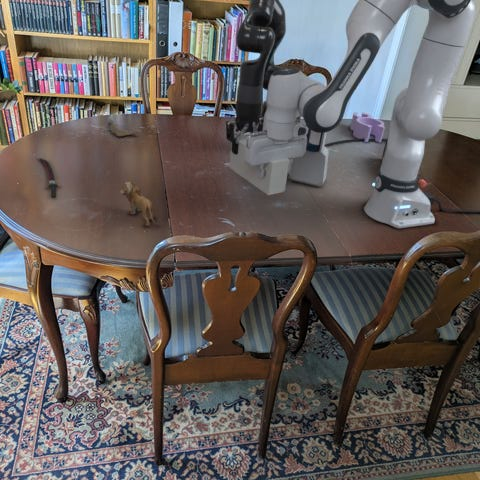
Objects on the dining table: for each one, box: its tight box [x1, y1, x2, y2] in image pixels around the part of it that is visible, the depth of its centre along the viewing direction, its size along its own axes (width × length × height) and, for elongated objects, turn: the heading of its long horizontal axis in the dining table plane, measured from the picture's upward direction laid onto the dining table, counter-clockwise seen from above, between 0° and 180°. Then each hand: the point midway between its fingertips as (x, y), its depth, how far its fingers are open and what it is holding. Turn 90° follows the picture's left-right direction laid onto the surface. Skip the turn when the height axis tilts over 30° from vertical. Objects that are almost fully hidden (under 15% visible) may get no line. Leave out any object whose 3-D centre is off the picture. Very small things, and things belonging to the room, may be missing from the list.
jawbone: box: [108, 119, 142, 137], centre depth 191 cm, size 9×20×2 cm, turn 50°
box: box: [228, 134, 290, 196], centre depth 142 cm, size 21×6×10 cm, turn 34°
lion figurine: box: [119, 181, 159, 227], centre depth 134 cm, size 15×5×9 cm, turn 50°
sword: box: [40, 158, 59, 198], centre depth 151 cm, size 31×3×1 cm, turn 26°
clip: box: [349, 112, 386, 143], centre depth 214 cm, size 20×12×7 cm, turn 11°
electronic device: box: [288, 124, 330, 188], centre depth 159 cm, size 12×8×30 cm, turn 71°
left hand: (244, 151), depth 147 cm, fingers closed on box, 6 cm apart
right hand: (272, 174), depth 137 cm, fingers closed on box, 6 cm apart
